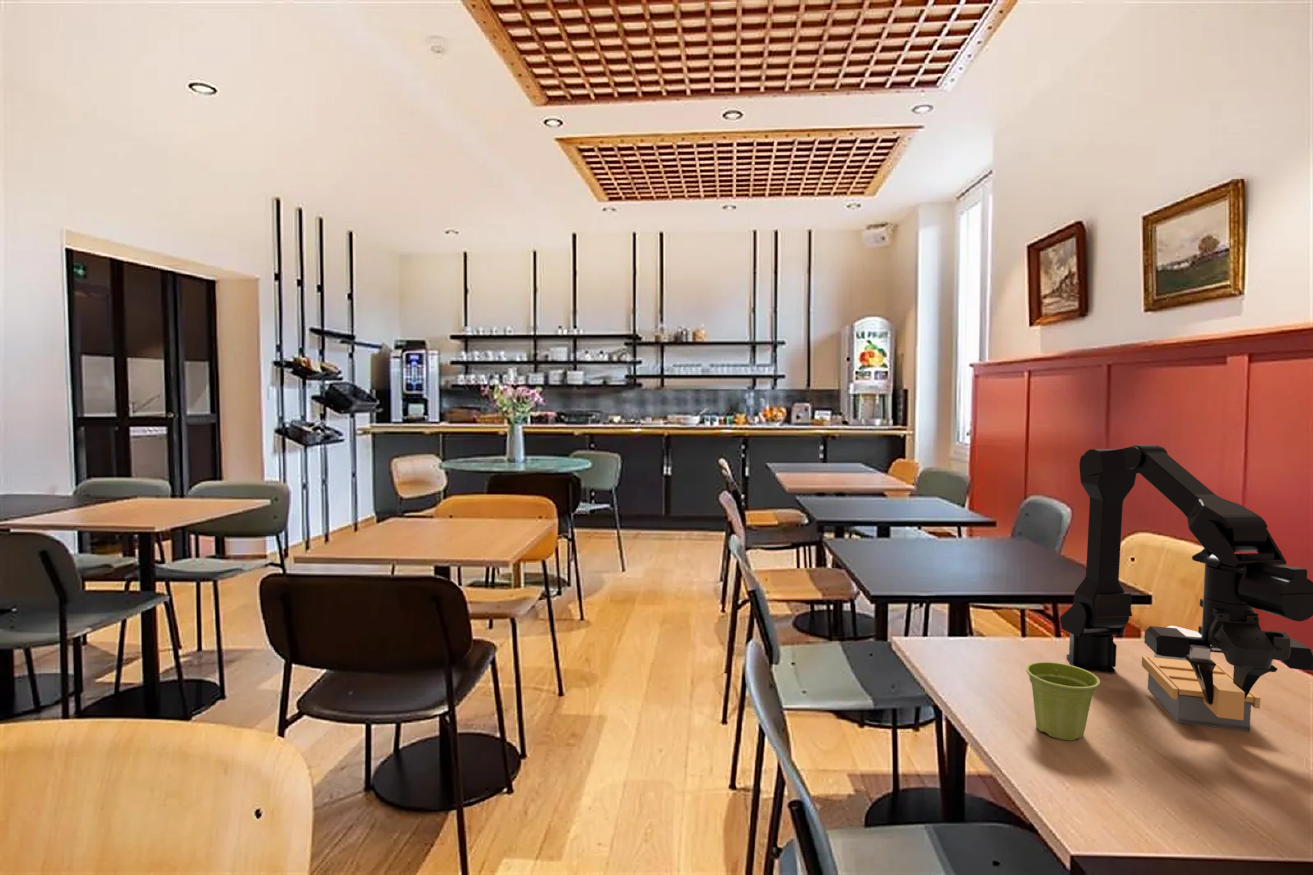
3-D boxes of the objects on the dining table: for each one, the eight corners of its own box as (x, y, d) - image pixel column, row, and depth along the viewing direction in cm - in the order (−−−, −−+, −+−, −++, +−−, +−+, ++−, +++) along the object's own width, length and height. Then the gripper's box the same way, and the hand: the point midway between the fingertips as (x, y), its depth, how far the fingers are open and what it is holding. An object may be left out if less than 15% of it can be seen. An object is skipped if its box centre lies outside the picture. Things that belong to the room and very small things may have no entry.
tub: (1177, 722, 108) (1178, 695, 107) (1147, 688, 120) (1148, 664, 120) (1249, 731, 105) (1251, 703, 105) (1211, 695, 117) (1212, 670, 117)
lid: (1185, 713, 103) (1187, 686, 102) (1141, 666, 120) (1142, 642, 120) (1277, 724, 99) (1278, 696, 99) (1217, 673, 117) (1219, 649, 117)
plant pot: (1088, 722, 108) (1090, 666, 107) (1105, 751, 99) (1107, 690, 98) (1019, 713, 111) (1021, 658, 110) (1029, 741, 102) (1031, 681, 101)
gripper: (1173, 609, 97) (1168, 720, 98) (1343, 622, 92) (1336, 740, 93) (1145, 588, 108) (1141, 688, 109) (1296, 598, 102) (1290, 704, 103)
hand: (1223, 705), depth 103 cm, fingers closed on lid, 3 cm apart
